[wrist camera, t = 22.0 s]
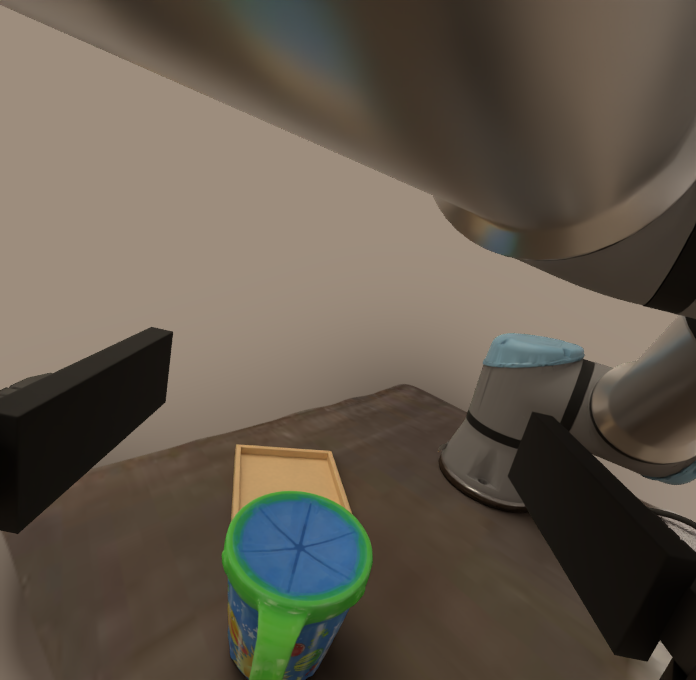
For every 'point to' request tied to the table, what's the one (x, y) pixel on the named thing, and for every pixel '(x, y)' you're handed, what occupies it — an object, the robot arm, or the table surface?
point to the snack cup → (291, 581)
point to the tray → (284, 474)
